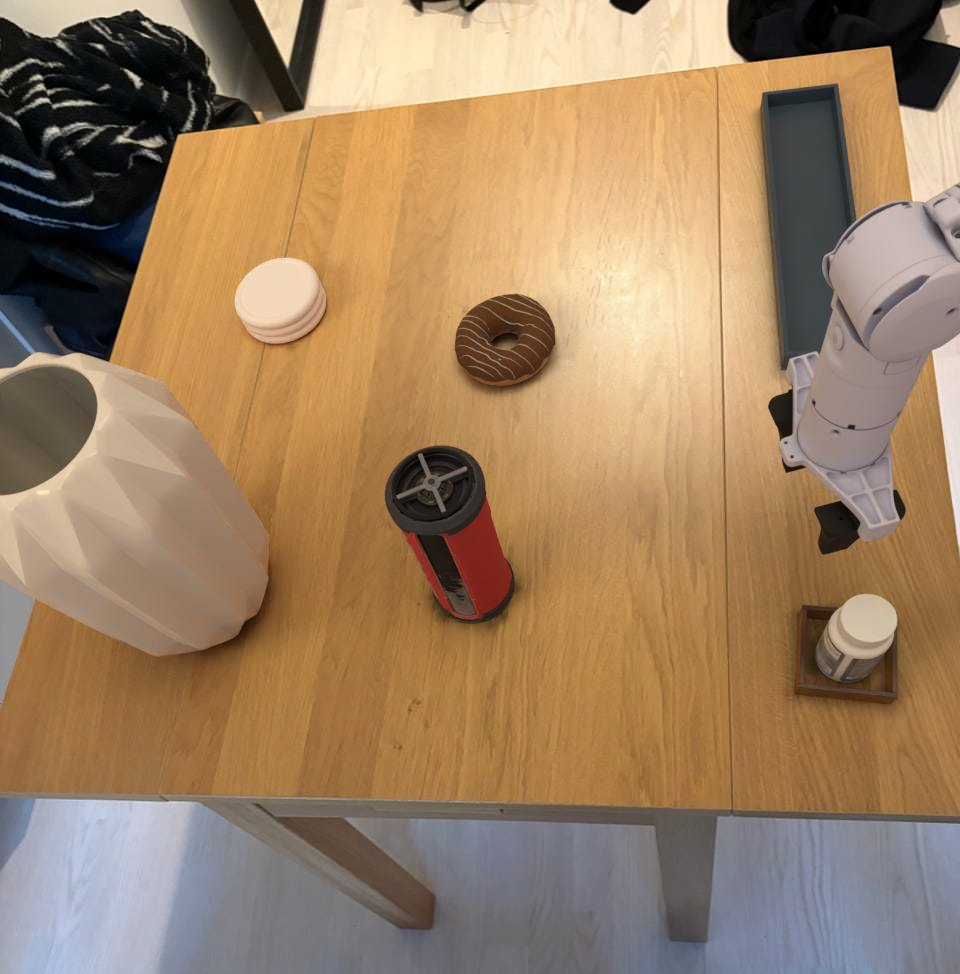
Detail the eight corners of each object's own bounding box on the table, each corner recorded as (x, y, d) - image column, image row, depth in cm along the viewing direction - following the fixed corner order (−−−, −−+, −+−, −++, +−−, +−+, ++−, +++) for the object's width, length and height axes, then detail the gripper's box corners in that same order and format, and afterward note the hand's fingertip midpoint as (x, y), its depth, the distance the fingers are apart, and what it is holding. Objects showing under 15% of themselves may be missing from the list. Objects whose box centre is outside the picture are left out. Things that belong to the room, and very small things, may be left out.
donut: (531, 298, 89) (527, 270, 85) (574, 365, 85) (571, 338, 81) (443, 340, 89) (434, 313, 85) (480, 409, 85) (473, 383, 81)
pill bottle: (881, 642, 68) (911, 600, 61) (864, 692, 67) (894, 655, 60) (823, 623, 70) (846, 580, 62) (806, 672, 69) (827, 634, 61)
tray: (759, 109, 94) (762, 92, 92) (834, 100, 92) (838, 82, 90) (781, 369, 80) (784, 355, 78) (868, 364, 79) (874, 350, 77)
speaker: (527, 605, 75) (497, 501, 59) (450, 637, 76) (399, 543, 59) (498, 538, 79) (461, 423, 62) (424, 569, 79) (368, 462, 62)
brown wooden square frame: (798, 613, 71) (802, 604, 69) (891, 621, 69) (897, 612, 67) (795, 694, 68) (798, 687, 66) (891, 704, 66) (897, 697, 65)
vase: (154, 504, 87) (-39, 315, 62) (323, 515, 83) (189, 317, 58) (93, 675, 81) (-150, 540, 56) (274, 697, 76) (98, 561, 51)
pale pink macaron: (304, 353, 92) (292, 331, 89) (231, 337, 95) (217, 315, 92) (342, 286, 95) (331, 261, 92) (269, 272, 98) (257, 248, 94)
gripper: (755, 325, 55) (733, 446, 67) (838, 505, 49) (797, 600, 61) (861, 295, 54) (819, 422, 66) (958, 473, 48) (892, 576, 61)
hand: (814, 506), depth 64 cm, fingers open, 7 cm apart
